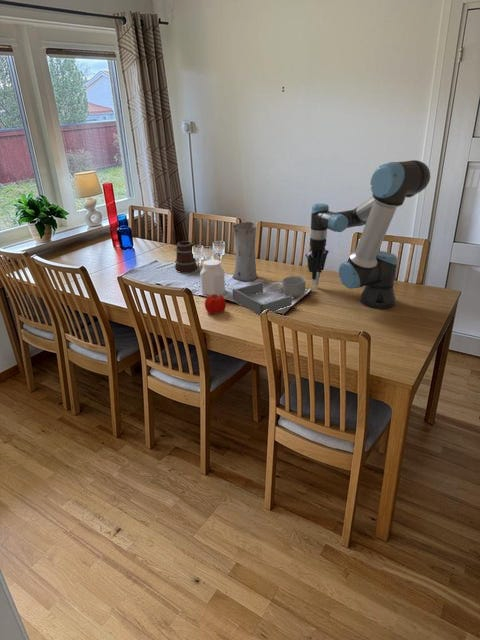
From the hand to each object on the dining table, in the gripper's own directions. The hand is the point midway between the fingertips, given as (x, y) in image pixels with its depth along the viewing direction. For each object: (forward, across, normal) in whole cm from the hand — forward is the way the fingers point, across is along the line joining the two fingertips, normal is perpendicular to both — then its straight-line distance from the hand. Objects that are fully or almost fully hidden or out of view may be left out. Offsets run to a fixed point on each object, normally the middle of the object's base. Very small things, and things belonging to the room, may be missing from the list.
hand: (315, 284), depth 216 cm
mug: (+2, +36, -64) cm, 73 cm away
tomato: (+2, +54, -5) cm, 55 cm away
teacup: (+2, +14, 0) cm, 14 cm away
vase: (+2, +20, -32) cm, 38 cm away
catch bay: (+1, +32, -1) cm, 33 cm away
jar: (+2, +43, -26) cm, 50 cm away
